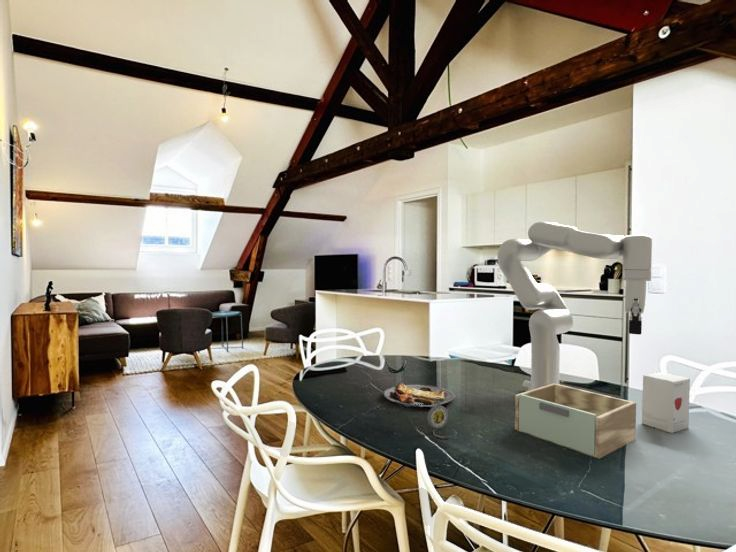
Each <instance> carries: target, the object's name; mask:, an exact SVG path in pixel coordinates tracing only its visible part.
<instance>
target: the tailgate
mask: <svg viewBox="0 0 736 552" xmlns="http://www.w3.org/2000/svg"><path fill="white" fill-rule="evenodd" d="M519 394H520V393H519ZM596 417H597V414H593V413H590V412H586V411H582V410H579V409H575V408H571V407H568V406H564V405H560V404H556V403H553V402H549V401H545V400H542V399H538V398H534V397H531V396H527V395H523V394H520V395H519V430H520V431H523V432H526V433H529V434H532V435H535V436H537V437H536V438H538V437H540V438H539V439H541V438H543V439H542V440H544V439H546V440H549V441H552V442H555V443H558V444H561V445H564V446H567V447H569V448H568V449H570V448H572V449H575V450H578V451H581V452H584V453H587V454H590V455H593V456H595V440H596ZM520 431H519V432H520ZM523 432H522V433H523ZM526 433H525V434H526ZM529 434H528V435H529ZM532 435H531V436H532ZM535 436H534V437H535ZM546 440H545V441H546ZM549 441H548V442H549ZM552 442H551V443H552ZM555 443H554V444H555ZM558 444H557V445H558ZM561 445H560V446H561ZM564 446H563V447H564ZM567 447H566V448H567ZM572 449H571V450H572ZM575 450H574V451H575ZM578 451H577V452H578ZM581 452H580V453H581ZM584 453H583V454H584ZM587 454H586V455H587ZM590 455H589V456H590ZM593 456H592V457H593Z"/></svg>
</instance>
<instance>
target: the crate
mask: <svg viewBox="0 0 736 552" xmlns="http://www.w3.org/2000/svg"><path fill="white" fill-rule="evenodd" d="M520 394H523V395H527V396H531V397H534V398H538V399H542V400H545V401H549V402H553V403H556V404H560V405H564V406H568V407H571V408H575V409H579V410H582V411H586V412H590V413H593V414H597V417H596V440H595V456H593V455H590V454H587V453H584V452H581V451H578V450H575V449H572V448H569V447H567V446H564V445H561V444H558V443H555V442H552V441H549V440H546V439H543V438H540V437H537V436H535V435H532V434H529V433H526V432H523V431H520V430H519V395H520ZM514 398H515V401H514V402H515V404H514V405H515V406H514V409H515V410H514V411H515V412H514V416H515V417H514V430H516V431H518V432H521V433H524V434H526V435H529V436H532V437H535V438H538V439H540V440H544V441H547V442H550V443H551V444H552V443H553V444H556V445H559V446H561V447H564V448H566V449H570V450H573V451H576V452H579V453H581V454H584V455H587V456H589V457H593V458H596V459H598V460H599V459H601V458H603V457H605V456H607V455H609V454H611V453H613V452H615V451H617V450H618V449H620V448H622V447H624V446H626V445H627V444H629V443H631V442H632V441H634V440H636V432H637V431H636V430H637V429H636V424H637V402H635V401H632V400H627V399H623V398H618V397H614V396H610V395H605V394H601V393H597V392H592V391H588V390H585V389H580V388H575V387H571V386H567V385H563V384H560V383H559V384H555V383H553V384H550V385H547V386H543V387H540V388H537V389H533V390H530V391H528V390H526V391H525V392H520V393H517V394H515V397H514Z"/></svg>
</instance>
